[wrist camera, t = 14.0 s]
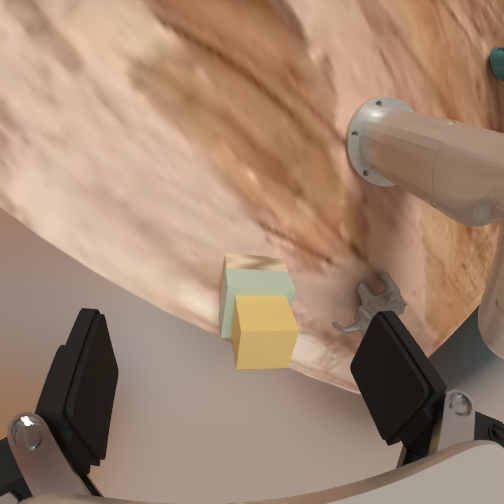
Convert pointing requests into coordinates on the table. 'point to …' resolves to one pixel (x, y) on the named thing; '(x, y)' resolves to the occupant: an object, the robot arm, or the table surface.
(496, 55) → the beverage bottle
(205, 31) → the table surface
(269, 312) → the block
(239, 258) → the tower base
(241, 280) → the pale green square block
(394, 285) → the gray elephant figurine
